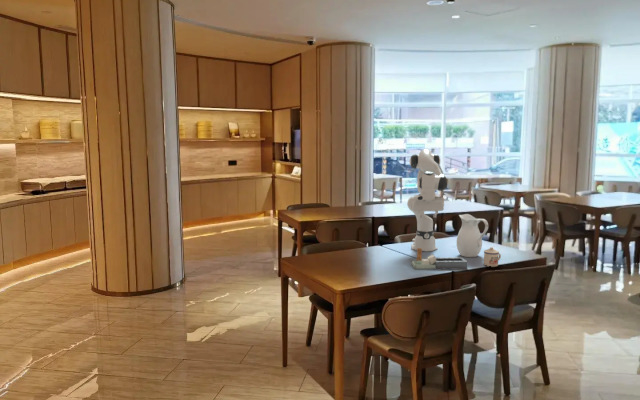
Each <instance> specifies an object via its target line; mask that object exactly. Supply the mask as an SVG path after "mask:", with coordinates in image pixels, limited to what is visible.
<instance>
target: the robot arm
mask: <svg viewBox="0 0 640 400" xmlns="http://www.w3.org/2000/svg"><path fill="white" fill-rule="evenodd" d="M440 164H441V158H440V155H439V154H435V153H432V151H430V150H429V149H422V150H420V151H419V153H418V154H412V155H411V156H410V158H409V166H410V168H412V169H415V170H416V169H418V172H417V177H416V179H417V182H416V183H417V187H416V188H417V191H418V193H419V194H415V195H414V196H411V197H409V198H408V200H407V208H408V210H409V211H411V212H412V213H413V214H414V215H415V218H416V227H417V228H416V229H417V230H416V234H415V235H416V236H415V237H414V238H413V239H411V240H412V243H411V250H414V251H417V248H421V249H422V252H433V251H436V250H438V247H437V246H436V237H434V229H433V228H434V221H433V218H437V215H438V214H439V212H442V211H444V207H445V199H444V197H442V196H439V194H437V193H436V191H440V192H443V191H445V190H446V189H447V188H448V185H449V184H448V179H447V177H446V176H445V173H444V171H443V168H442V167H441V165H440ZM426 212H435V213H434V214H433V215H432V216H433V218H432V217H430V216H429V215H427V214H426Z"/></svg>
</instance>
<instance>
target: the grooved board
mask: <svg viewBox="0 0 640 400" xmlns="http://www.w3.org/2000/svg"><path fill="white" fill-rule="evenodd" d="M435 258H436V260H437V261H435V263H433V264H432V265H436V269H435V270H444V269H443V268H467V269H468V261H467V260H466V259H465V257H464V256H462V257H461V256H460V257H458V256H457V257H435Z"/></svg>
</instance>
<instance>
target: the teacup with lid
mask: <svg viewBox="0 0 640 400" xmlns="http://www.w3.org/2000/svg"><path fill="white" fill-rule="evenodd" d="M500 260H501V253H500V251H499V250H496V249H495V248H494V247H493V246H491V247H489V248H488V249H485V250H484V251H483V265H484V266H485V265H487V266H486V267H489V266H491V268H495V267H498V266H499V261H500Z"/></svg>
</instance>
